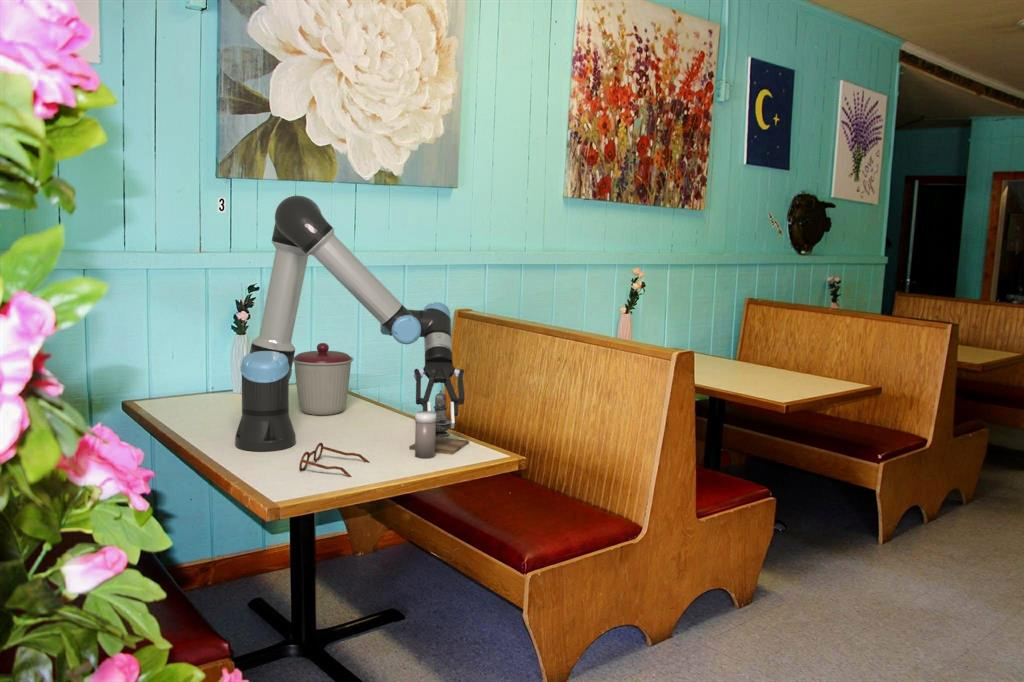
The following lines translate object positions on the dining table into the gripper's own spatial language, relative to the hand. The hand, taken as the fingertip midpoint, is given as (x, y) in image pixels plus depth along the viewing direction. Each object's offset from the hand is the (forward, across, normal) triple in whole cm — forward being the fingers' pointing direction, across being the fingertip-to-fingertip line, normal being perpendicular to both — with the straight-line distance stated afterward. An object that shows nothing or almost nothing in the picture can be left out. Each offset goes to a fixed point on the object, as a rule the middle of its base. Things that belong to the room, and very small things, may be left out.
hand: (441, 425), depth 229 cm
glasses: (+16, -26, -6) cm, 31 cm away
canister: (-27, -33, +36) cm, 56 cm away
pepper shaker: (+8, -4, +1) cm, 9 cm away
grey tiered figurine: (0, 0, +5) cm, 5 cm away
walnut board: (+2, 0, +7) cm, 7 cm away
